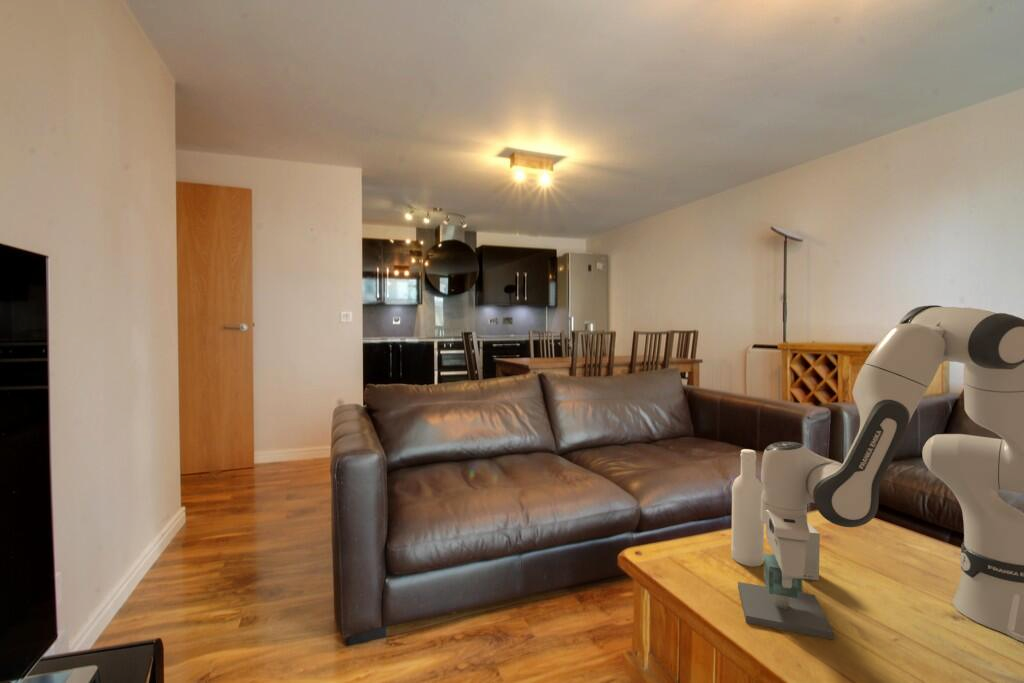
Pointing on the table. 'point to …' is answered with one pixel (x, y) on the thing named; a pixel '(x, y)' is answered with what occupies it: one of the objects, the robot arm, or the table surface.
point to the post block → (784, 611)
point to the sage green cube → (779, 579)
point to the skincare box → (812, 555)
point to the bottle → (747, 514)
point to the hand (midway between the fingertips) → (782, 577)
